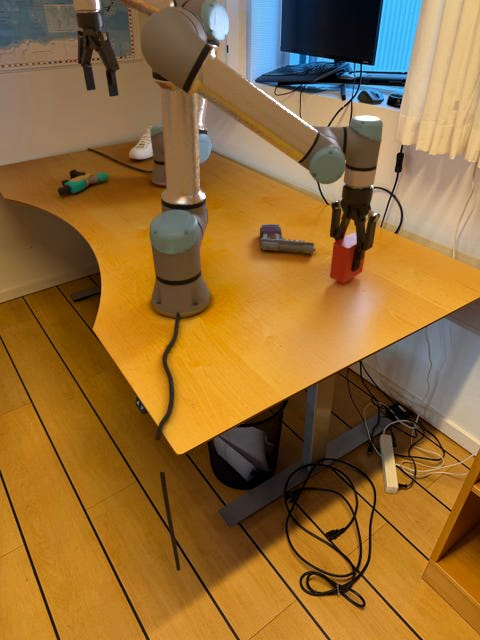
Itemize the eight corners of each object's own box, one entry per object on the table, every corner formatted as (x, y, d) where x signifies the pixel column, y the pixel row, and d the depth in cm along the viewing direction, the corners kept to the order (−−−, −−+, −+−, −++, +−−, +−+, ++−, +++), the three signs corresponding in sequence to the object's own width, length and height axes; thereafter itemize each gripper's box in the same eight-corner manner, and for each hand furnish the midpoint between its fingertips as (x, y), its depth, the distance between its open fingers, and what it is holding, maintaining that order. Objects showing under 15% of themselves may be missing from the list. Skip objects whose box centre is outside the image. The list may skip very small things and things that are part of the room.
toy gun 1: (36, 183, 186) (64, 189, 180) (82, 165, 204) (109, 170, 199) (38, 194, 188) (67, 201, 183) (84, 175, 207) (111, 180, 201)
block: (362, 272, 134) (367, 237, 128) (343, 283, 129) (348, 248, 123) (348, 266, 137) (353, 232, 131) (329, 277, 132) (333, 242, 126)
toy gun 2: (318, 236, 156) (314, 258, 144) (261, 232, 159) (253, 253, 147) (319, 225, 153) (315, 247, 141) (262, 221, 156) (253, 242, 145)
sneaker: (123, 162, 220) (119, 135, 213) (150, 145, 242) (147, 120, 235) (143, 164, 218) (140, 137, 210) (169, 146, 240) (166, 121, 232)
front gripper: (398, 189, 115) (382, 272, 128) (338, 171, 125) (329, 250, 139) (381, 197, 110) (366, 283, 124) (320, 178, 121) (313, 259, 135)
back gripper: (124, 12, 130) (135, 96, 142) (79, 9, 145) (92, 86, 157) (99, 14, 126) (113, 100, 138) (56, 10, 141) (72, 89, 153)
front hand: (347, 265), depth 131 cm, fingers closed on block, 5 cm apart
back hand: (102, 93), depth 148 cm, fingers open, 13 cm apart
